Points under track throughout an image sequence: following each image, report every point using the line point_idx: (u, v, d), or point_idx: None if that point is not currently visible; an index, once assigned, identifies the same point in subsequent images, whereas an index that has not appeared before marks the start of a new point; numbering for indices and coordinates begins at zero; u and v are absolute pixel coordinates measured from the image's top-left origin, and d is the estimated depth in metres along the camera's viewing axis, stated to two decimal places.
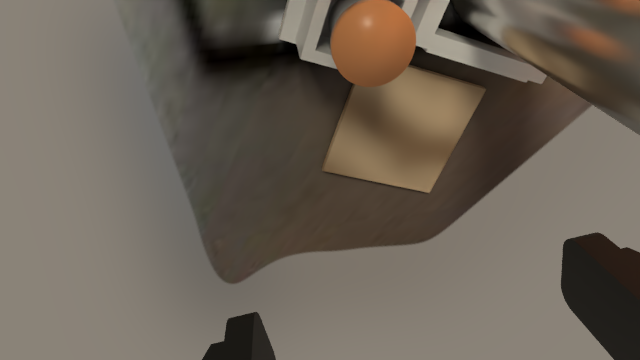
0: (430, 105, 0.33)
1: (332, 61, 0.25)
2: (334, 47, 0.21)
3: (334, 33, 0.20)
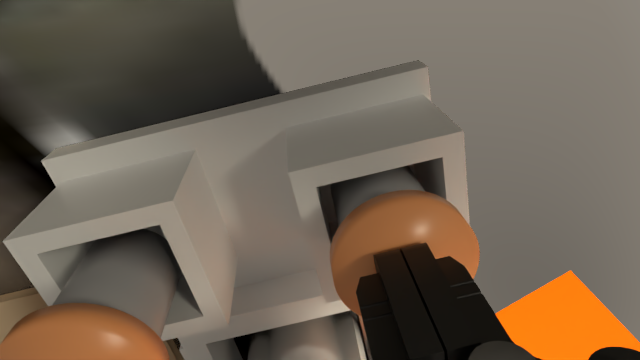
0: None
1: (45, 284, 0.14)
2: (14, 341, 0.10)
3: (38, 326, 0.10)
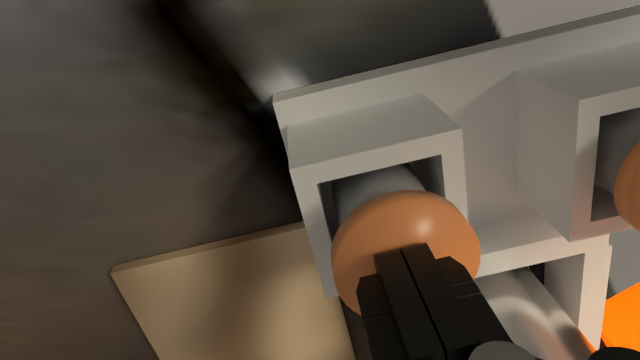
0: (301, 331, 0.22)
1: (314, 217, 0.14)
2: (377, 218, 0.11)
3: (397, 204, 0.11)
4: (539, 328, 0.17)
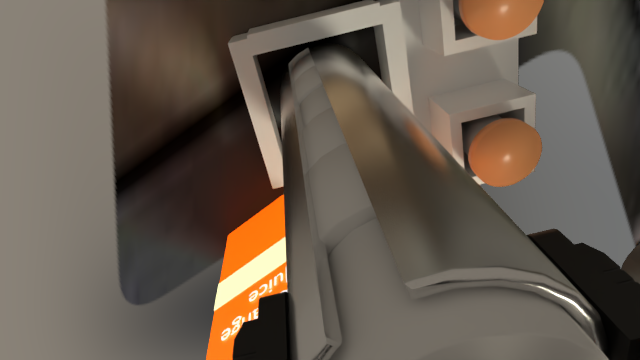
0: None
1: None
2: None
3: None
4: None
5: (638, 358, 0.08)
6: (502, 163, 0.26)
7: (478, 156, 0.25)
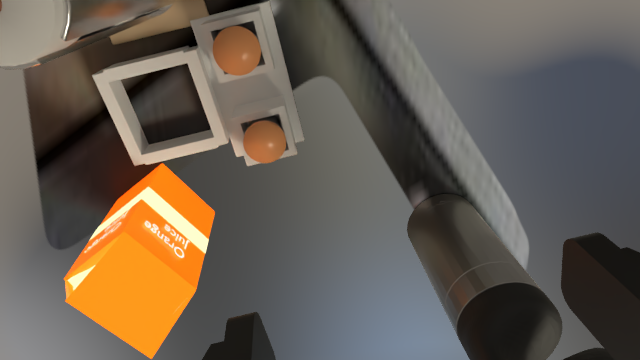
0: None
1: (239, 20, 0.38)
2: (255, 40, 0.37)
3: (259, 46, 0.38)
4: None
5: None
6: (263, 148, 0.42)
7: (245, 143, 0.42)
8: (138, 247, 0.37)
